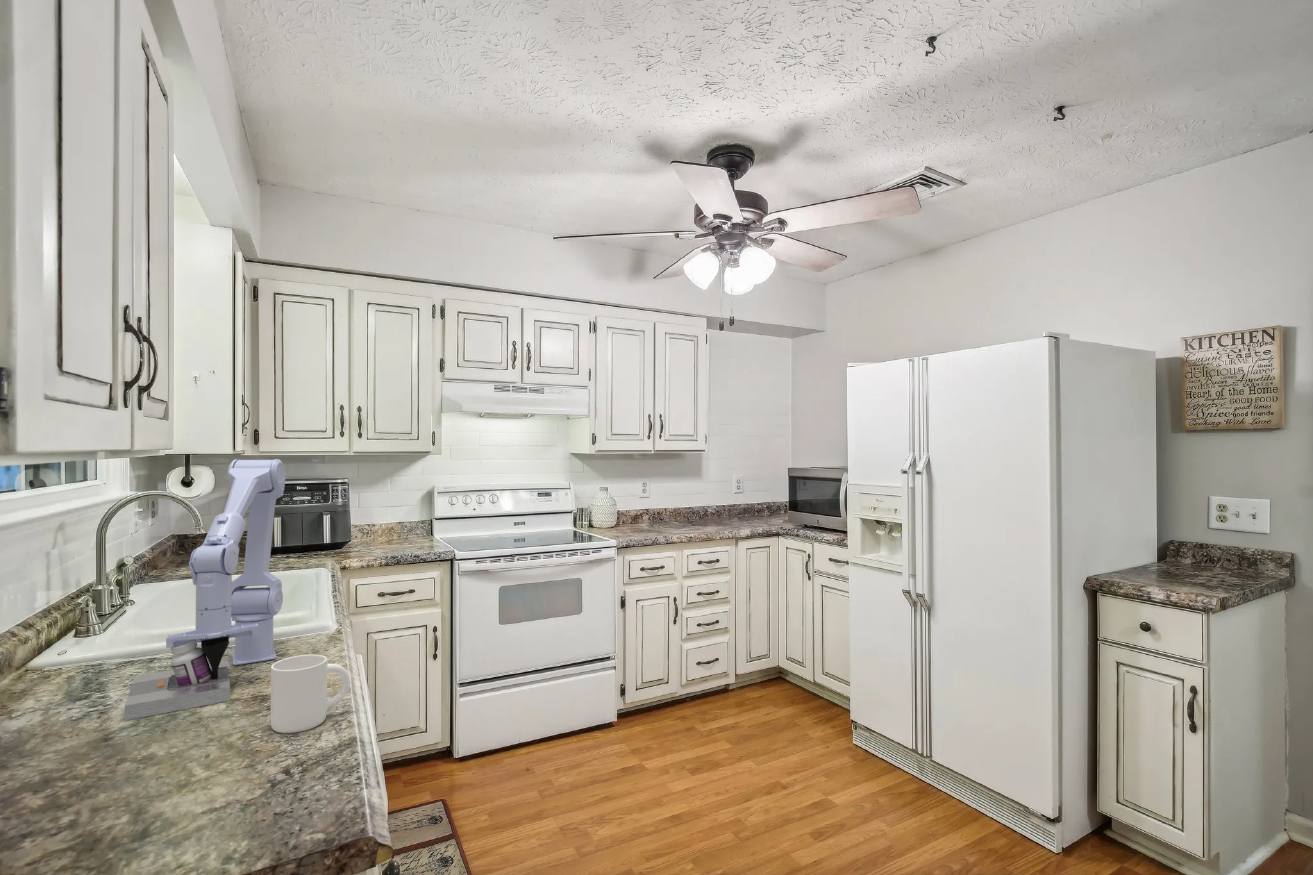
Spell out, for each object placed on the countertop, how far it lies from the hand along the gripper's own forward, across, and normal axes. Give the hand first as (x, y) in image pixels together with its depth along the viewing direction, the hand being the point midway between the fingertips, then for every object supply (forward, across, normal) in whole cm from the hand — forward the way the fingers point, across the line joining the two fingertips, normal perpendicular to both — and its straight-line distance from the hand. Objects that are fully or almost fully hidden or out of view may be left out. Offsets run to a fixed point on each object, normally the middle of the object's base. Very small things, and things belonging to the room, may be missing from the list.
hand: (213, 678), depth 124 cm
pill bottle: (+2, -2, +1) cm, 3 cm away
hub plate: (+2, -5, +1) cm, 6 cm away
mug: (+3, +13, -27) cm, 30 cm away
